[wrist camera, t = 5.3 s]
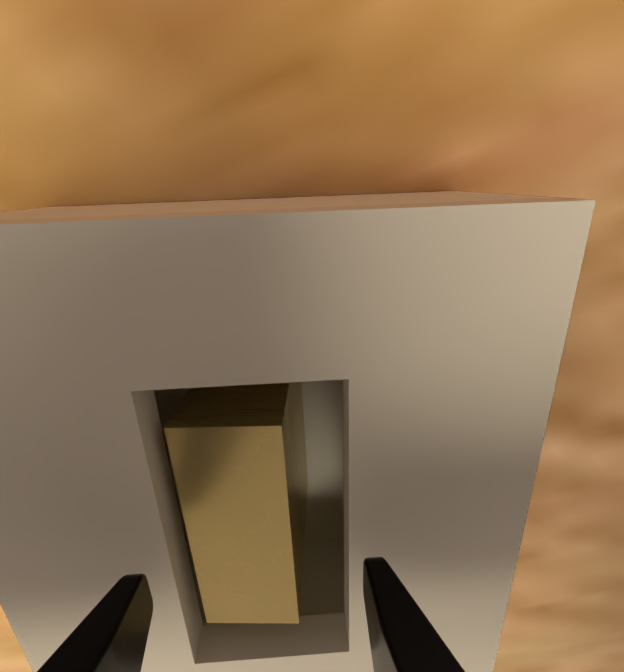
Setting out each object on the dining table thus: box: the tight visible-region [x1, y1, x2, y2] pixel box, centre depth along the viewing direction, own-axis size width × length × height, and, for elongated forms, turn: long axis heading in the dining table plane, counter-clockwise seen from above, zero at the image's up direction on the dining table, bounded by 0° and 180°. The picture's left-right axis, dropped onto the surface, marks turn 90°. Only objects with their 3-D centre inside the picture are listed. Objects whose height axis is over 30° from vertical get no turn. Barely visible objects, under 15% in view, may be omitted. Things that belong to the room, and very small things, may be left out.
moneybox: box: [0, 191, 596, 672], centre depth 12 cm, size 12×14×6 cm
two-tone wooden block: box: [164, 382, 308, 624], centre depth 11 cm, size 2×6×5 cm, turn 3°
